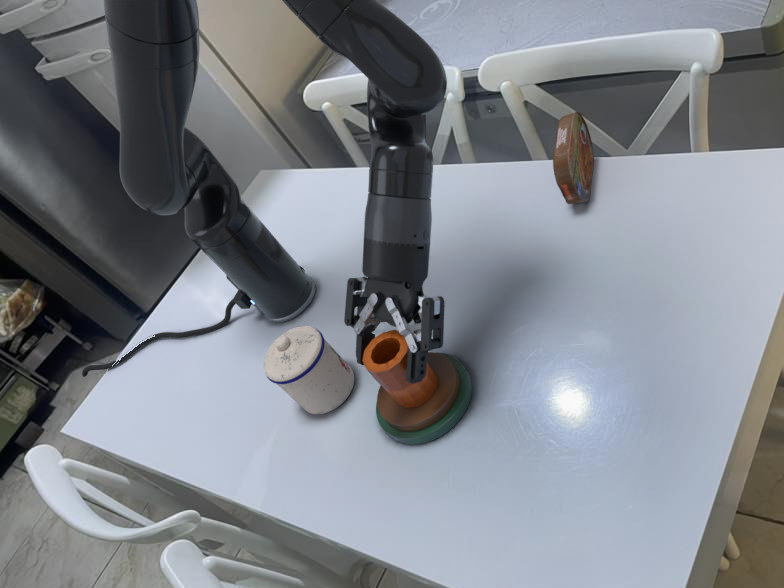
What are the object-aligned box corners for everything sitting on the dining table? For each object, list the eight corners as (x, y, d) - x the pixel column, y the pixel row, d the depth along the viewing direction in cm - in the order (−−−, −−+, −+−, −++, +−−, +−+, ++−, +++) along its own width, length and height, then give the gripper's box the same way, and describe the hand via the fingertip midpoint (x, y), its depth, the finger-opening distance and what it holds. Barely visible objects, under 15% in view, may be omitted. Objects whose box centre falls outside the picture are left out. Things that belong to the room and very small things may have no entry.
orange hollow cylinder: (386, 400, 89) (353, 364, 83) (412, 362, 91) (382, 325, 85) (420, 413, 86) (388, 377, 80) (446, 374, 88) (417, 336, 82)
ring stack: (366, 440, 90) (354, 428, 88) (402, 357, 97) (391, 344, 95) (453, 449, 84) (442, 436, 82) (484, 360, 91) (475, 346, 88)
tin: (588, 213, 99) (570, 168, 93) (566, 217, 100) (548, 172, 94) (595, 144, 107) (580, 98, 101) (575, 149, 108) (559, 103, 102)
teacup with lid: (368, 370, 98) (322, 318, 89) (332, 424, 95) (281, 376, 86) (312, 353, 105) (264, 304, 96) (277, 403, 101) (224, 357, 93)
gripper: (330, 228, 81) (326, 363, 85) (419, 246, 73) (409, 394, 77) (379, 227, 87) (372, 354, 91) (466, 244, 78) (454, 382, 83)
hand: (389, 372), depth 84 cm, fingers open, 8 cm apart
